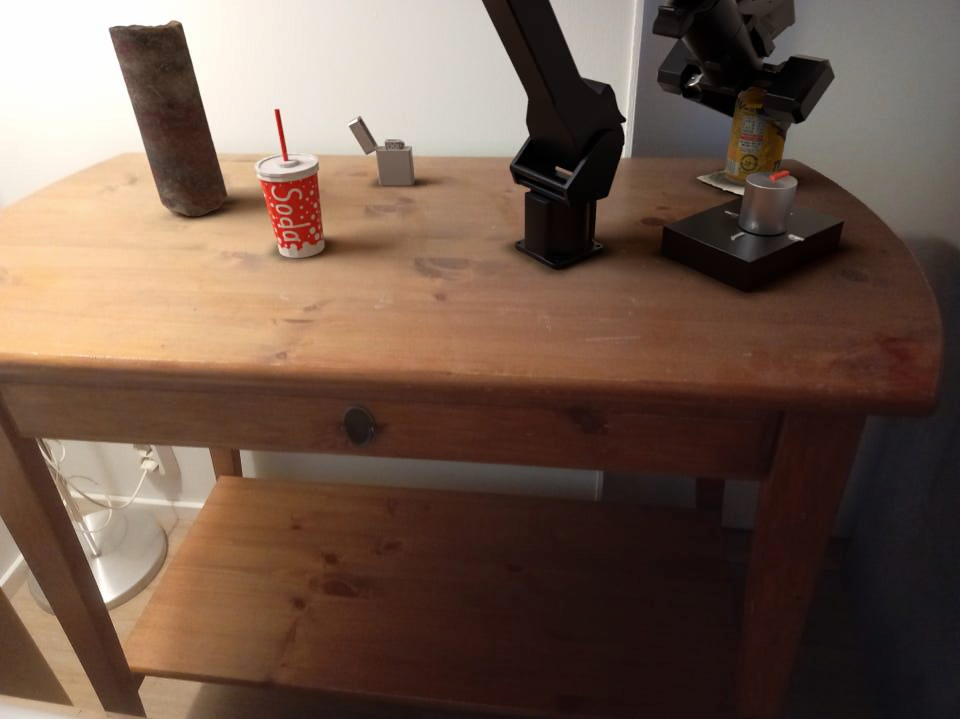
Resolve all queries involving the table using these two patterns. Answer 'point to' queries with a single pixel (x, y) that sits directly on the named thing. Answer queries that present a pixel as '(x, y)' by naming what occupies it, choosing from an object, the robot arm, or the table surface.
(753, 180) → the hob knob
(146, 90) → the rough stone core
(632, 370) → the table surface
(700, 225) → the hob panel
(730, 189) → the condiment
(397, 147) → the lighter
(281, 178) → the beverage cup
